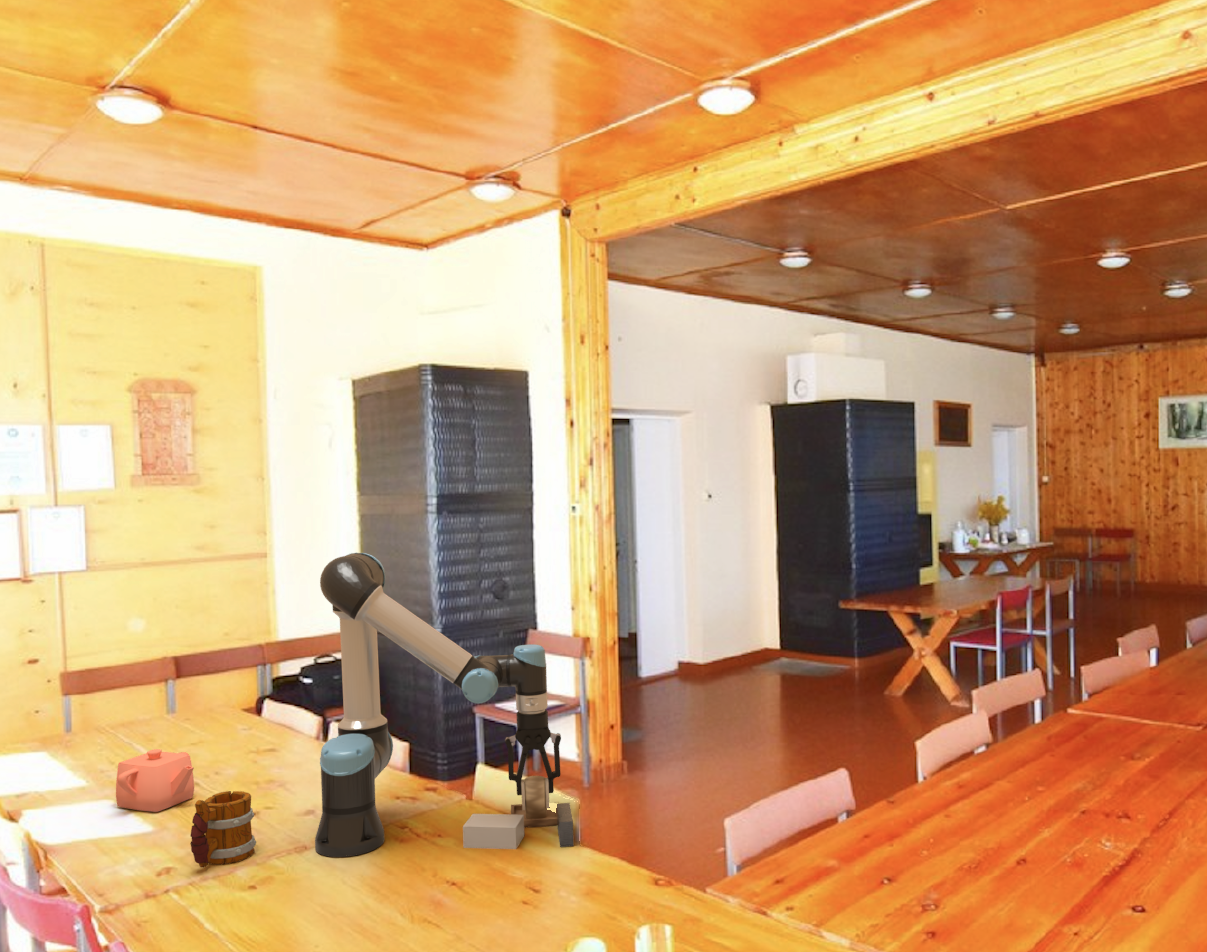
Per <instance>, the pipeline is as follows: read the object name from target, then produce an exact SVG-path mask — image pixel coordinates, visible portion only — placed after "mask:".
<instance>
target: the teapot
mask: <svg viewBox="0 0 1207 952" xmlns="http://www.w3.org/2000/svg"><path fill="white" fill-rule="evenodd" d="M193 771H194V767H193V764H192V759H191V755H189V753H188V752H187V751H186V752H184V751H182V752H171V751H163V750H162V749H159V748H156V749H150V750H148V751H147V752H146V753H144V754H140V755H137V756H134V757H131V758H128V759H125V760H123V761H120V762H118V766H117V773H116V783H115V800H116V805H117V807H119V808H123V809H128V810H129V809H130V810H136V811H143V812H155V813H157V812H161V811H163V810H165V809H168V808H171V807H173V806H176V805H178V804H181V803H184V802H185V801H187V800H190V799H192V798H193V797H194V791H195V780H194V772H193Z"/></svg>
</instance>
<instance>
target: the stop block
mask: <svg viewBox="0 0 1207 952" xmlns="http://www.w3.org/2000/svg"><path fill="white" fill-rule="evenodd" d="M557 834H558V842H559V848H566V847H574V846H575V845H574V821H573V814H572V808H571V803H570V802H563V803H558V804H557Z"/></svg>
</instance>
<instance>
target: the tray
mask: <svg viewBox="0 0 1207 952" xmlns="http://www.w3.org/2000/svg"><path fill="white" fill-rule="evenodd" d="M510 814H511V815H524V829H526V827H527V828H537V827H539V828H541V827H555V826H557V808H556V813H555V812H552V811H551V810H547V809H546V818H541V819H526V814H525V810H522V803H521V804H520V803H519V804H518V803H517V804H516V803H515V804H510Z"/></svg>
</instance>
